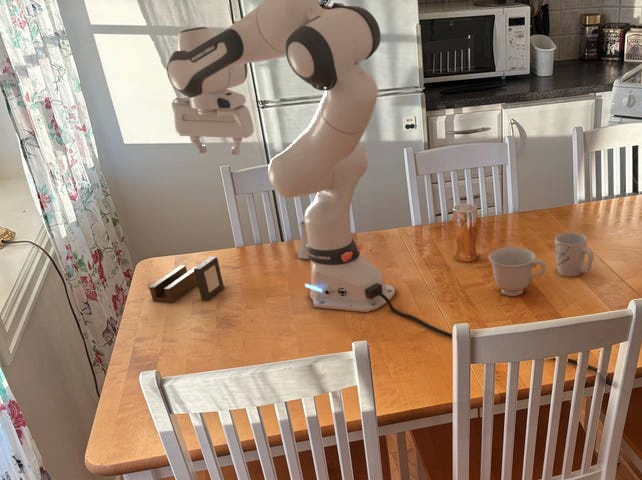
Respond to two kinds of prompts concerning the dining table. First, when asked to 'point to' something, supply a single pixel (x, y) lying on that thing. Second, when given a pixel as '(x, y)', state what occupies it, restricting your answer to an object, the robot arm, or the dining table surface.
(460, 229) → the beer glass
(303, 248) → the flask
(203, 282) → the frame
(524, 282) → the teacup
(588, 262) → the mug
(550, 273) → the dining table surface
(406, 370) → the dining table surface
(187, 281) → the holder
